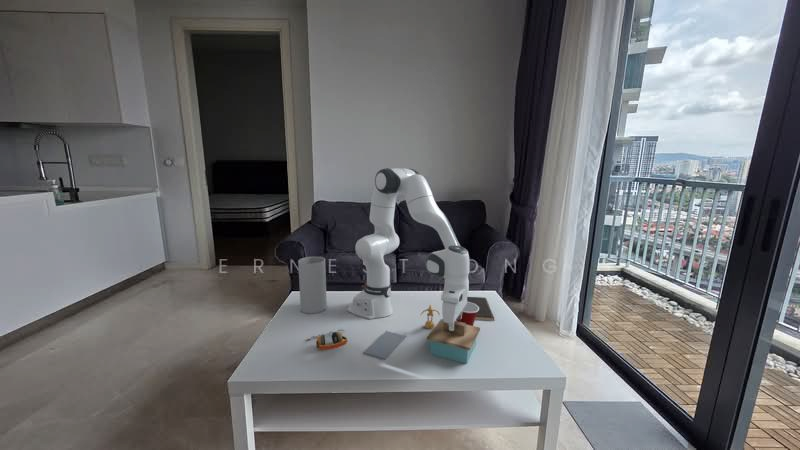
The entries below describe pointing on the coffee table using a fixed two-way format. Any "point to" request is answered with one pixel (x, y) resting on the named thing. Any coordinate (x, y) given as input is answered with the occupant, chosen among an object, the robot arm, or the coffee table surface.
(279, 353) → the coffee table surface
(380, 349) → the mat
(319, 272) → the cylinder vase
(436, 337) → the lid
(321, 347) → the headphones
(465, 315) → the plastic cup
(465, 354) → the open box
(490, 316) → the hardcover book
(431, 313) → the figurine
